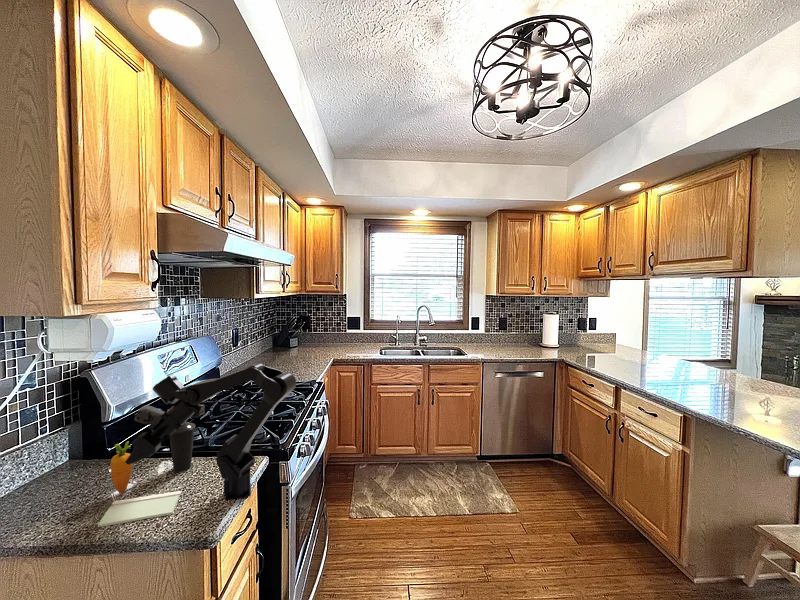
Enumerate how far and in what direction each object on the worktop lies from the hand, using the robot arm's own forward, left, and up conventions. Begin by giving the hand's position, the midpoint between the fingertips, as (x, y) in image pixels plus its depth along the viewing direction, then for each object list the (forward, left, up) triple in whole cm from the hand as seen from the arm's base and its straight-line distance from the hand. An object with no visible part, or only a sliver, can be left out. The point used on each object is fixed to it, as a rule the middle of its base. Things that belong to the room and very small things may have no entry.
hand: (135, 455), depth 105 cm
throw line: (-4, +5, -11) cm, 12 cm away
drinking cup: (-10, -11, -11) cm, 19 cm away
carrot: (+3, 0, -11) cm, 12 cm away
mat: (-4, +11, -11) cm, 16 cm away
